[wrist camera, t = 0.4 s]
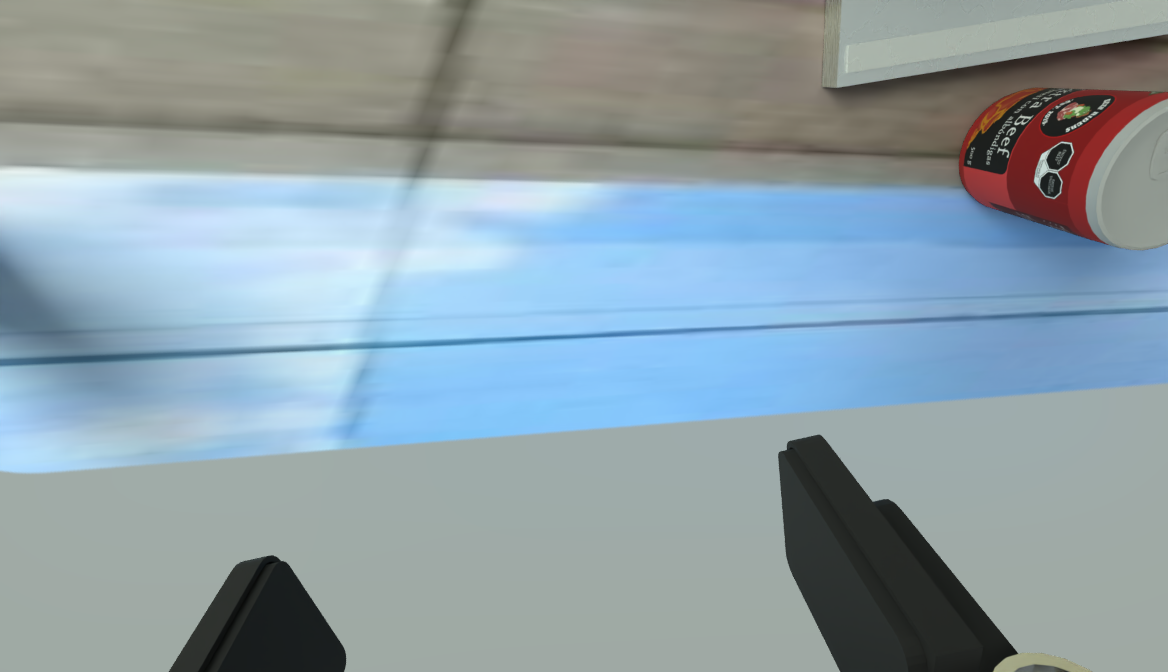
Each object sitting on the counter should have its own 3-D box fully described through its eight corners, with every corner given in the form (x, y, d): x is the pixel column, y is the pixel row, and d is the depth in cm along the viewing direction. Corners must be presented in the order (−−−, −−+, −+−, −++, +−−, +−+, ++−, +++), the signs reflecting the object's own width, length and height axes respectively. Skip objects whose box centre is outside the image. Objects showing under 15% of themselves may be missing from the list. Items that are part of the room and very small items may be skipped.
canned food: (1040, 60, 36) (1231, 57, 26) (1081, 154, 38) (1267, 184, 29) (934, 144, 37) (1074, 171, 28) (981, 227, 40) (1122, 279, 31)
